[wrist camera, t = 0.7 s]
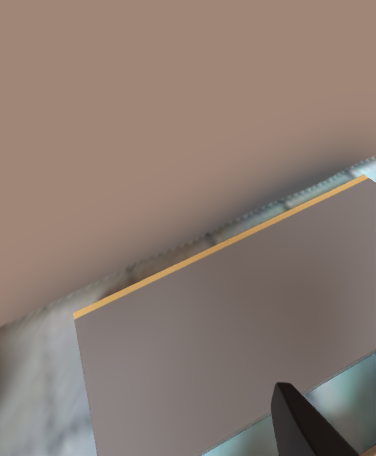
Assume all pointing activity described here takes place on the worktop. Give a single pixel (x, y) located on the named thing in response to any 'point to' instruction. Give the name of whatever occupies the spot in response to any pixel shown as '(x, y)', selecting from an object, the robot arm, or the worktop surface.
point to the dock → (233, 329)
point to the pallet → (369, 451)
